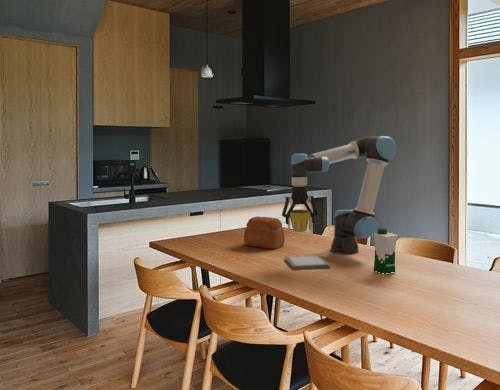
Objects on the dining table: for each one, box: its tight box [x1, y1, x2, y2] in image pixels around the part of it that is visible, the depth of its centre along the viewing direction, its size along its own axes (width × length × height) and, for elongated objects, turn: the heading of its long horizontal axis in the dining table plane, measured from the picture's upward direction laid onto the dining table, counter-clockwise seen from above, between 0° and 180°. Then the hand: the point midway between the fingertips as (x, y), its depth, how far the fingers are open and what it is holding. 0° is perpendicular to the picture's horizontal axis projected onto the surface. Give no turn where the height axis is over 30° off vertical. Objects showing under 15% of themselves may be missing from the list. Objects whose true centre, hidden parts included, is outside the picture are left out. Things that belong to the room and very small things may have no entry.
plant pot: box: [289, 209, 311, 233], centre depth 221 cm, size 10×10×10 cm
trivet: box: [284, 255, 331, 270], centre depth 223 cm, size 18×18×2 cm
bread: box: [243, 216, 286, 250], centre depth 261 cm, size 18×21×17 cm
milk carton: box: [373, 227, 398, 274], centre depth 207 cm, size 9×9×20 cm
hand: (299, 230), depth 221 cm, fingers closed on plant pot, 10 cm apart
